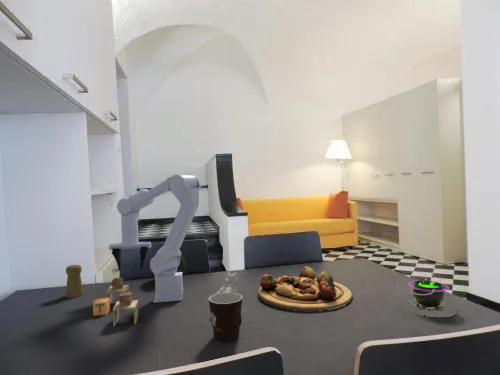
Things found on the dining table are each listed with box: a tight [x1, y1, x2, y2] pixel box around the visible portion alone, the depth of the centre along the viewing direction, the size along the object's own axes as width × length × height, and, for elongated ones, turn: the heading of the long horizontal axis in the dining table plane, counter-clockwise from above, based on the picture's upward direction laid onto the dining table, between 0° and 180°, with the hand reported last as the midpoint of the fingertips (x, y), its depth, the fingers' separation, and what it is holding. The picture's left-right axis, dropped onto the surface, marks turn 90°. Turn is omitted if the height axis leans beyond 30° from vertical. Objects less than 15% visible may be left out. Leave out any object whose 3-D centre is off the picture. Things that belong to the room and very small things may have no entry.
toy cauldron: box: [408, 271, 449, 311], centre depth 104 cm, size 15×15×11 cm
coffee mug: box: [208, 293, 243, 343], centre depth 87 cm, size 12×9×10 cm
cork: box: [65, 264, 84, 299], centre depth 127 cm, size 6×6×11 cm
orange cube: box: [92, 297, 111, 317], centre depth 108 cm, size 4×4×4 cm
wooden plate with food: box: [257, 266, 353, 312], centre depth 120 cm, size 32×32×8 cm
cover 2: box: [112, 291, 139, 327], centre depth 101 cm, size 6×6×8 cm
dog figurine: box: [215, 271, 239, 294], centre depth 110 cm, size 5×13×11 cm, turn 162°
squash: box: [149, 254, 187, 280], centre depth 143 cm, size 14×15×15 cm
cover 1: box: [105, 277, 130, 304], centre depth 118 cm, size 6×6×8 cm
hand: (131, 268), depth 126 cm, fingers open, 7 cm apart
